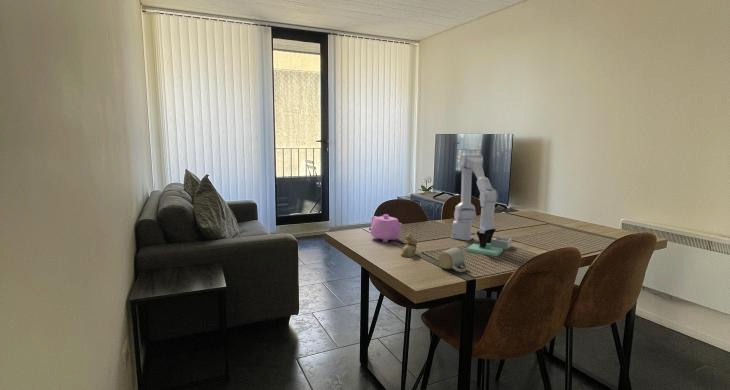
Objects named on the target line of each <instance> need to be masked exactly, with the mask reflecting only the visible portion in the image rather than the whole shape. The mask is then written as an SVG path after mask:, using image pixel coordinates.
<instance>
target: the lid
mask: <svg viewBox="0 0 730 390" xmlns="http://www.w3.org/2000/svg"><path fill="white" fill-rule="evenodd" d="M503 251H504V250H503V248H497V247H491V244H490V243H486V247H485V248H482V247H480V242H479V243H472V244H470V245H469V246H467V248H466V252H470V253H476V254H480V255H481V254H482V255H487V256H492V257H498V256H499V255H500V254H502V253H503Z"/></svg>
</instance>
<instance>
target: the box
mask: <svg viewBox="0 0 730 390" xmlns="http://www.w3.org/2000/svg"><path fill="white" fill-rule="evenodd" d="M512 242H513V239H512V238H511V237H504V236H498V235H493V236H492V239H491V243H490V244H491V247H497V248H503V251H508V250H510V248H511V247H512Z"/></svg>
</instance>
